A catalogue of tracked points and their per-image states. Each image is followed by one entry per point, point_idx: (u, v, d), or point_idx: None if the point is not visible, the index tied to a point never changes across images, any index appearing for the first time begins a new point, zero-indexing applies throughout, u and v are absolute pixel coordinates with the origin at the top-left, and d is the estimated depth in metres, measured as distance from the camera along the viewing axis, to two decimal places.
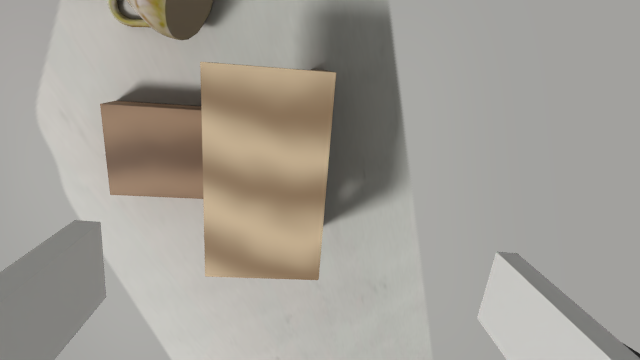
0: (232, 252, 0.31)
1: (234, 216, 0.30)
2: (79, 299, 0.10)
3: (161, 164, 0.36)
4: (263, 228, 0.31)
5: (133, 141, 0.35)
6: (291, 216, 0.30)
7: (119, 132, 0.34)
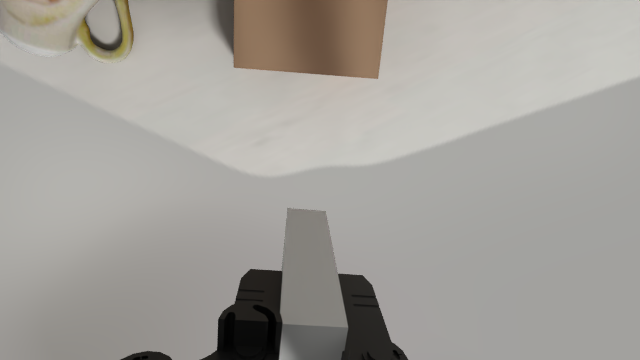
0: None
1: None
2: None
3: None
4: None
5: (292, 25, 0.21)
6: None
7: (276, 46, 0.22)
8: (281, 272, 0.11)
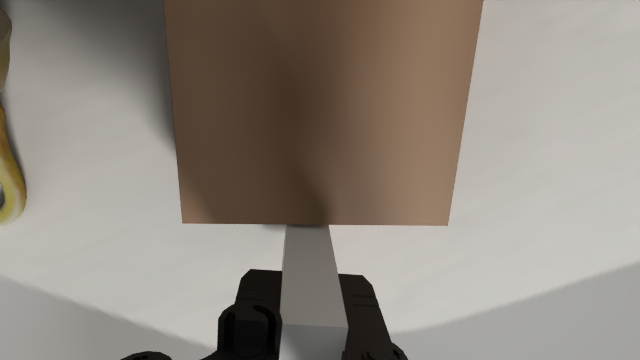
0: None
1: None
2: None
3: (359, 64, 0.11)
4: None
5: (287, 146, 0.11)
6: None
7: (260, 183, 0.12)
8: (281, 272, 0.11)
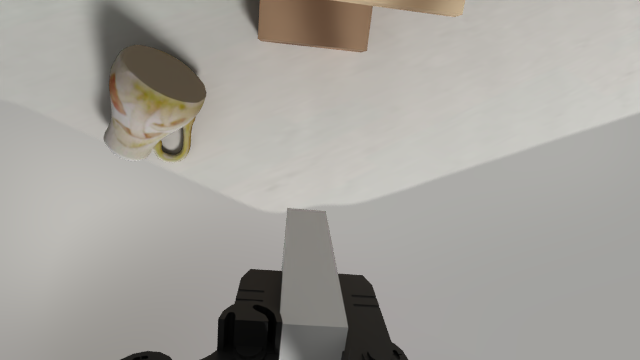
0: None
1: None
2: None
3: None
4: None
5: (302, 7, 0.29)
6: None
7: (290, 23, 0.29)
8: (281, 272, 0.11)
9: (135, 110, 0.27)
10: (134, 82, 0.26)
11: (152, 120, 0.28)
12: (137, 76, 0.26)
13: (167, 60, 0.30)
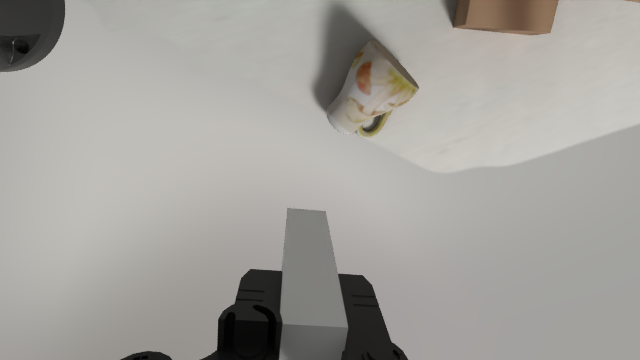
0: None
1: None
2: None
3: None
4: None
5: None
6: None
7: (493, 11, 0.36)
8: (281, 272, 0.11)
9: (381, 91, 0.34)
10: (390, 69, 0.33)
11: (390, 100, 0.35)
12: (392, 65, 0.33)
13: (388, 53, 0.38)
